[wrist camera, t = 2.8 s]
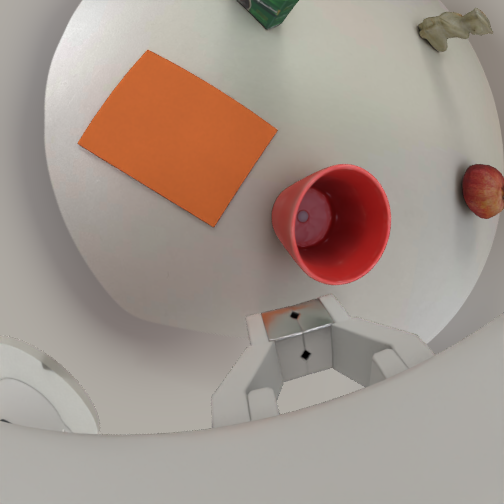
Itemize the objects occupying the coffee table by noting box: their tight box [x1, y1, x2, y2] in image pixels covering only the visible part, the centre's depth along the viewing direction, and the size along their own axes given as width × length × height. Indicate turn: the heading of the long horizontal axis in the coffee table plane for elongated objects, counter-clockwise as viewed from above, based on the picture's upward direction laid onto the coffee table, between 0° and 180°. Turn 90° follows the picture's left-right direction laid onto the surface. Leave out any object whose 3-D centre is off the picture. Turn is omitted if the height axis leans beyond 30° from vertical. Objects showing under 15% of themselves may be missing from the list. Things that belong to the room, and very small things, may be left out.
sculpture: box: [418, 8, 493, 52], centre depth 25 cm, size 6×7×15 cm
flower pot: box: [272, 164, 391, 285], centre depth 28 cm, size 11×11×10 cm
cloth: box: [78, 50, 278, 227], centre depth 27 cm, size 13×18×1 cm
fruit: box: [462, 164, 504, 219], centre depth 36 cm, size 11×10×10 cm
